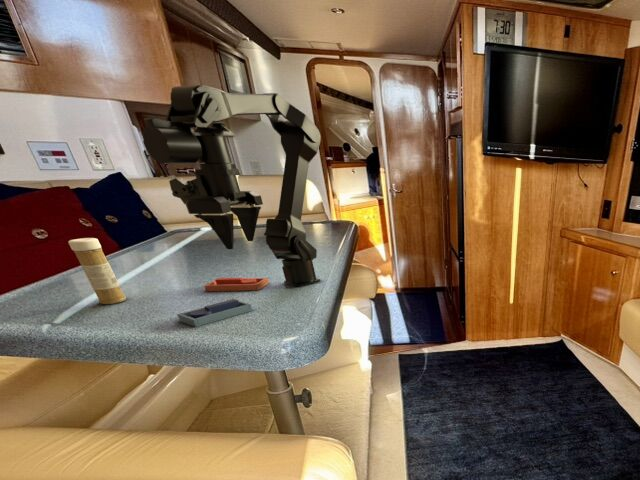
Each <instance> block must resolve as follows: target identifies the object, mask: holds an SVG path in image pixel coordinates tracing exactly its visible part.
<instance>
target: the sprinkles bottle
mask: <svg viewBox="0 0 640 480" xmlns="http://www.w3.org/2000/svg"><path fill="white" fill-rule="evenodd" d="M67 243H68V245H69V247H70V249H71V251H73V253H74V254H75V256H76V259H77V260H78V262H79V264H80V265H81V268H82V270H83V272H84V274H85V276H86V278H87V280H88V282H89V284H90V287H91V288H92V290H93V291H94V293H95V295H96V297H97V298H98V302H99V303H100V304H102V305H112V304H117V303H118V304H119V303H122V302H125V301H126V300H127V297H126V296H125V295H124V292H123V290H122V289H121V287H120V286H121V285H120V283H119V281H118V279H117V277H116V275H115V273H114V271H113V268H112V266H111V265H110V262H109V261H108V259H107V257H106V256H105V253H104V251H103V248H102V245H101V243H100V241H99V239H98V238H95V237H83V238H82V237H81V238H75V239H70V240H68V242H67Z"/></svg>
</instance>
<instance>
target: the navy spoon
mask: <svg viewBox="0 0 640 480" xmlns="http://www.w3.org/2000/svg"><path fill="white" fill-rule="evenodd" d="M239 301H240V300H239V299H236V298H232V299H229V300H224V301H221V302H217V303H213V304H209V305H205V306H203V307H204V308H205V309H201V310H196V309H195V310H196V311H193V312H191V313H190V316H191V318H194V319H195V318H199V317H203V316H206V315H210V314H214V313H217V312H221V311H225V310H228V309H232V308H235V307H239V306H240V304H239Z"/></svg>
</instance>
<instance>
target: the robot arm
mask: <svg viewBox="0 0 640 480" xmlns="http://www.w3.org/2000/svg"><path fill="white" fill-rule="evenodd" d="M243 115H244V116H245V115H246V116H247V115H250V116H251V115H265V116H266V117H267V118H268V120H269V122H270V124H271V127H272V129H273V130H274V131H276V133H277V134H278V135H279V136H280V145H281V147H282V149H283V152H284V154H285V161H284V168H283V175H282V183H281V189H280V190H281V191H280V196H279V197H280V198H279V205H278V212H277V215H276V216H275V218H267V219H266V221H265V231H264V233H263V236H265V243H266V245H267V246H268V248H269V250H270V251H271V252H272V254H273V256H274V257H275V259H276V260H281V262H282V266H281V268H282V273H283V276H284V280H283V283H284V284H286V285H290V286H296V287H304V286H307V285H312V284H315V283H318V282H321V280H322V279H320V278H317V275H316V270H315V267H314V263H313V260H314V259H317V257H318V256H317V255H318V253H317V248H315V246H313V245H312V244H311V243H310V242H309V241H308V240H307V232H306V229H305V227H304V224H303V222H302V215H303V209H304V203H305V202H304V201H305V193H306V186H307V181H308V180H307V179H308V171H309V165H310V162H312V160H313V159H314V158H315V157H316V155H317V154H318V151H319V149H320V148H319V147H320V144H321V139H322V138H321V133H320V130H319V128H318V127H317V125H316V124H315V123H314V122H312V120H311V119H310V118H309V116H308V115H306V113H304V112H303V111H301V110H299V109H298V108H297V107H295V105H292V104H291V103H290V102H289V101H288V100H287V99H286V98H285V96H283V95H282V94H280V93H278V92H268V93H265V92H264V93H231V92H227V91H223V90H221V89H219V88H216V87H212V86H209V85H204V84H191V85H177V86H173V87H172V88H171V92H170V105H169V107H168V111H167V114H166V117H165V120H163V119H161V118H150V117H149V118H144V119H143V121H144V124H145V128H144V129H143V136H142V137H143V141H142V143H143V145H144V148H145V150H146V151H147V153H148V155H149V156H150V157H151V158H152V159H153V160H154V161H155V162H157V163H159V164H167V165H169V164H173V165H174V164H195V163H197V164H198V167H199V168H196V169H195V171H194V175H195V178H194V179H191V180H190V179H189V180H187V181H186V180H184V178H182V177H175V178H172V179H170V180H168V183H169V187H170V191H171V194H172V196H173V197H174V198H178V199H180V201H181V202H182V203H183V204H184V205H185V207H186V209H187V213H188V214H189V215H193V216H194V217H195V218H196V219H200V220H202V221H203V222H205V223H207V224H208V225H209V227H210V228H211V229H212V230H213V232H214V233H215V234H216V235H217V238H218V239H219V240H220V241H221V242H222V244H223V246H224V247H225V248H226V250H233V249H234V243H235V241H234V240H235V236H234V235H235V233H234V232H235V231H234V215H235V216H236V219H237V221H238V222H239V226H240V227H241V230H242V232H243V235H244V237H245V238H246V241H247V242H254V239H255V233H256V228H257V224H258V219H259V216H260V212H261V210H262V206H261V205H264V203H263V202H264V201H263V198H262V196H261V194H260V193H258V192H257V191H256V190H241V189H240V184H239V182H238V178H237V175H240V171H239V169H238V168H234V164H233V162H232V161H233V160H232V157H231V154H230V151H229V148H228V145H227V141H226V138H235V133H233V132H232V131H231V130H230V129H228V128H227V127H226V126H225V125H224V124H223V123H222V122H223V121H226V120H229V119H231V118H232V117H235V116H243ZM281 116H282V117H283V118H284V119H285V120H284V119H283V118H282V117H281ZM219 122H220V123H219ZM211 124H212V125H211ZM210 125H211V126H210Z"/></svg>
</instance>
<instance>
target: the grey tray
mask: <svg viewBox="0 0 640 480" xmlns="http://www.w3.org/2000/svg"><path fill="white" fill-rule="evenodd" d="M238 301H239V304H240V306H239V307H235V308H232V309H228V310H225V311H221V312H217V313H214V314H210V315H206V316H203V317H199V318H195V319H194V318H191V316H190V313H191V312H193V311H196V310H201V309H205V308H204V307H205V306H203V307H199V308H196V309H193V310H188V311H185V312H180V313H177V314H176V315H177V318H178V321H179V322H181V323H185V324H187V325H189V326H193V327H196V328H197V327H199V326H203V325H207V324H210V323H214V322H217V321H221V320H225V319H228V318H231V317H235V316H238V315H242V314H245V313H248V312H251V311H254V310H253V307H252V304H251V303H248V302H245V301H241V300H238Z"/></svg>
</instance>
